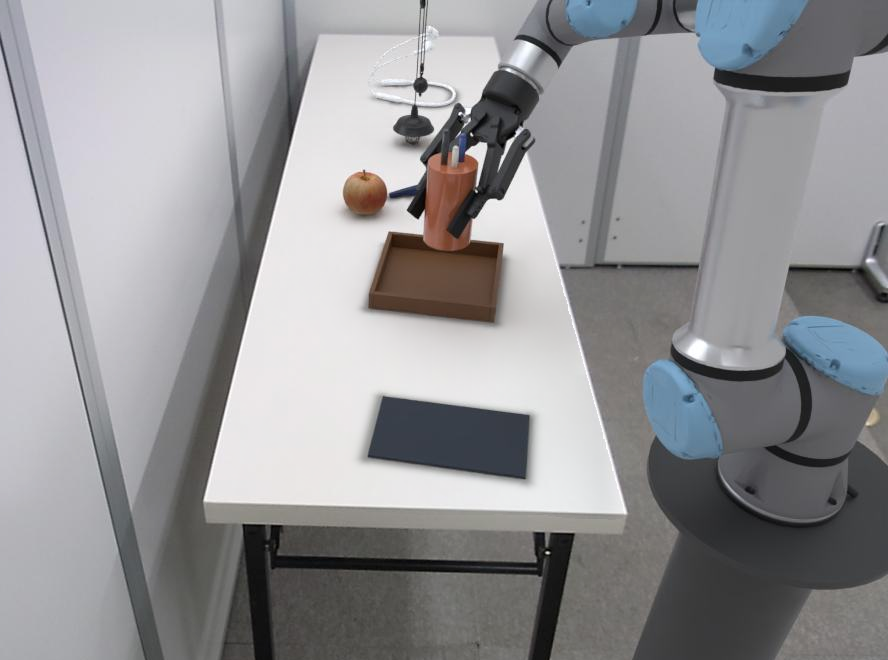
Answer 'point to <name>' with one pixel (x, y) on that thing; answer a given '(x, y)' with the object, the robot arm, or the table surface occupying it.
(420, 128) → the light fixture
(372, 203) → the apple
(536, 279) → the table surface
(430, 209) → the pen pot
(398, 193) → the tapered navy handle
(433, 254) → the tray
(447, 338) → the table surface
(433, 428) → the mat
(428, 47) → the earphone
